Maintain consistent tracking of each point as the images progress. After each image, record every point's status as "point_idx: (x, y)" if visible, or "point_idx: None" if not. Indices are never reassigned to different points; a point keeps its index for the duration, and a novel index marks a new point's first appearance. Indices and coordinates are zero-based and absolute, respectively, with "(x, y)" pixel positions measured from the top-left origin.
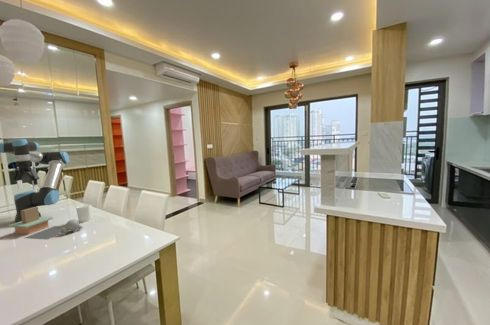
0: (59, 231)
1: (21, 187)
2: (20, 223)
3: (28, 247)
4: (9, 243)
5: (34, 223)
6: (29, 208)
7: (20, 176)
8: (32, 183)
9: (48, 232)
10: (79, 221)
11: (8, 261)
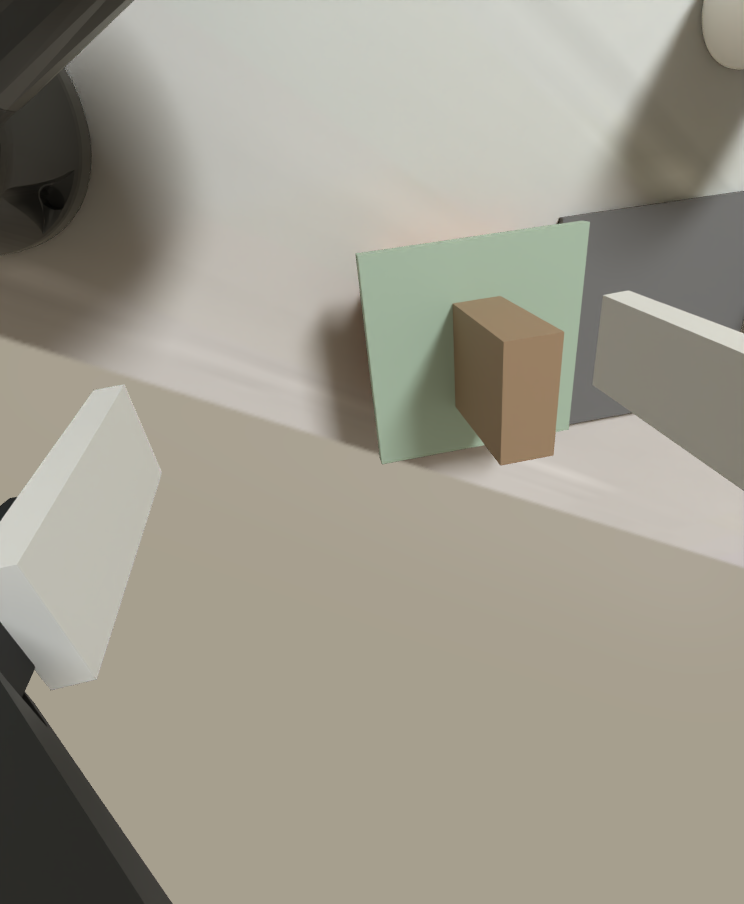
0: (706, 292)
1: (129, 439)
2: (437, 412)
3: (685, 469)
4: (522, 480)
5: (571, 378)
6: (514, 393)
7: (102, 816)
8: (716, 460)
9: None
10: (737, 67)
11: (715, 548)
